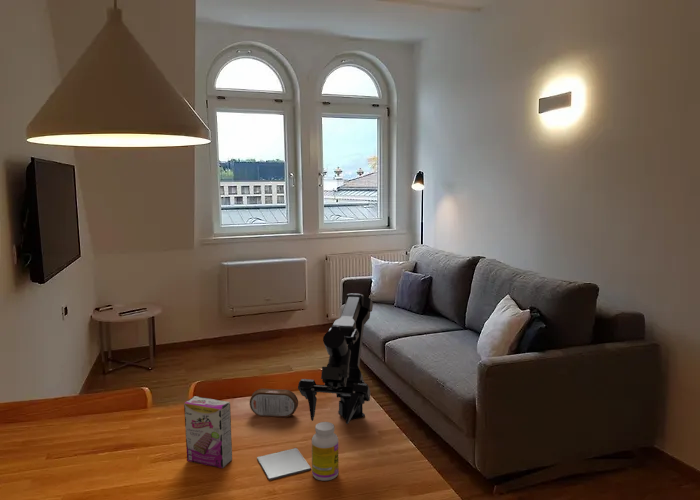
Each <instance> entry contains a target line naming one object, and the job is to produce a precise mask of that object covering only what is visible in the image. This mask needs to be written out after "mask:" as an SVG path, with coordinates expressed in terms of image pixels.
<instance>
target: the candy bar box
mask: <svg viewBox="0 0 700 500" xmlns="http://www.w3.org/2000/svg"><path fill="white" fill-rule="evenodd" d="M183 407H184V409H183V410H184V427H185V428H184V429H185V443H186V444H185V445H186V462H191V463H195V464H196V463H197V464H198V465H199V464H201V465H205V466H209V467H215V468H220V469H224V468H225V467H226V466H227V465H228V464H229V463H230V462H231V461H232V460H233V445H232V444H233V443H232V442H233V441H232V415H231V414H232V413H231V402H230V401H227V400H226V401H225V400H219V399H213V398H208V397H201V396H197V395H196V396H195V395H194V396H193V397H191V398H190V399H188V400H186V401H185V402H184V403H183Z"/></svg>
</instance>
